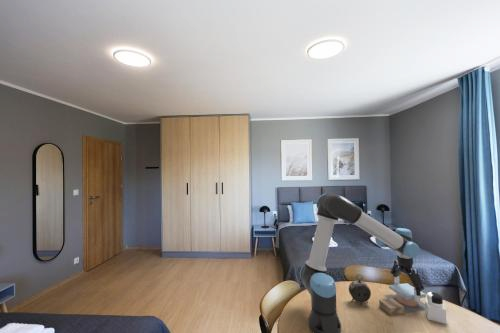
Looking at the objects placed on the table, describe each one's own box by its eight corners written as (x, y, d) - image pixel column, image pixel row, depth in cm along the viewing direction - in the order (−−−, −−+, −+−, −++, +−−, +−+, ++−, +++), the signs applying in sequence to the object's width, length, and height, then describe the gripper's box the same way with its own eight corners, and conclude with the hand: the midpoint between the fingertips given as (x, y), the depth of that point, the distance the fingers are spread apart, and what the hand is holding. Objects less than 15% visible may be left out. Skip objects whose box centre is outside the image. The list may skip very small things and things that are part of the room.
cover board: (405, 299, 117) (405, 296, 117) (389, 288, 129) (388, 284, 129) (425, 297, 119) (425, 294, 119) (407, 286, 130) (407, 283, 130)
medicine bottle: (443, 316, 111) (441, 292, 112) (447, 324, 105) (445, 299, 106) (425, 312, 115) (424, 289, 115) (428, 320, 109) (426, 295, 109)
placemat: (406, 313, 115) (406, 312, 115) (384, 296, 130) (383, 295, 130) (433, 309, 117) (433, 309, 117) (407, 293, 132) (407, 293, 132)
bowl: (406, 308, 118) (406, 298, 118) (392, 298, 128) (392, 288, 128) (422, 306, 119) (421, 296, 120) (407, 296, 129) (407, 287, 129)
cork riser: (390, 316, 112) (390, 308, 112) (379, 307, 120) (379, 299, 120) (404, 314, 113) (404, 306, 113) (392, 305, 121) (392, 298, 121)
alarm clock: (368, 300, 126) (367, 272, 127) (372, 306, 121) (371, 276, 122) (348, 300, 128) (347, 272, 128) (352, 305, 122) (350, 276, 123)
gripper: (431, 264, 113) (433, 306, 112) (393, 248, 137) (395, 282, 137) (418, 265, 112) (420, 307, 111) (382, 249, 136) (384, 283, 136)
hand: (406, 294), depth 124 cm, fingers open, 13 cm apart
